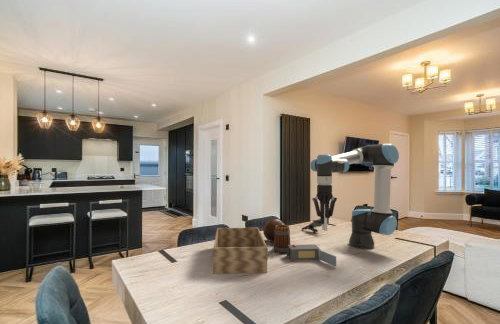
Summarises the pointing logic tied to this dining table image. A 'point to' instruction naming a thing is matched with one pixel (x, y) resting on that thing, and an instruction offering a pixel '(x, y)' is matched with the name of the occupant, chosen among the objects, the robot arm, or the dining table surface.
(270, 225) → the coconut
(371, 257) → the dining table surface
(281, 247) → the mug
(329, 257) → the side door
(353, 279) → the dining table surface
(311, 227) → the bird figurine
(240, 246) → the box
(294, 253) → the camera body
